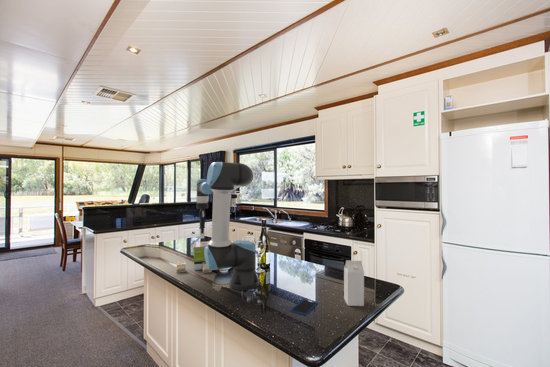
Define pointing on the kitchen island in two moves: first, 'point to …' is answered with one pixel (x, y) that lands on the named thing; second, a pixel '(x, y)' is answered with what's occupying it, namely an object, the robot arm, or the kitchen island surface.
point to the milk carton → (354, 283)
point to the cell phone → (304, 307)
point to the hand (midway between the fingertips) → (202, 238)
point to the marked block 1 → (181, 267)
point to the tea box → (199, 254)
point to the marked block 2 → (205, 268)
